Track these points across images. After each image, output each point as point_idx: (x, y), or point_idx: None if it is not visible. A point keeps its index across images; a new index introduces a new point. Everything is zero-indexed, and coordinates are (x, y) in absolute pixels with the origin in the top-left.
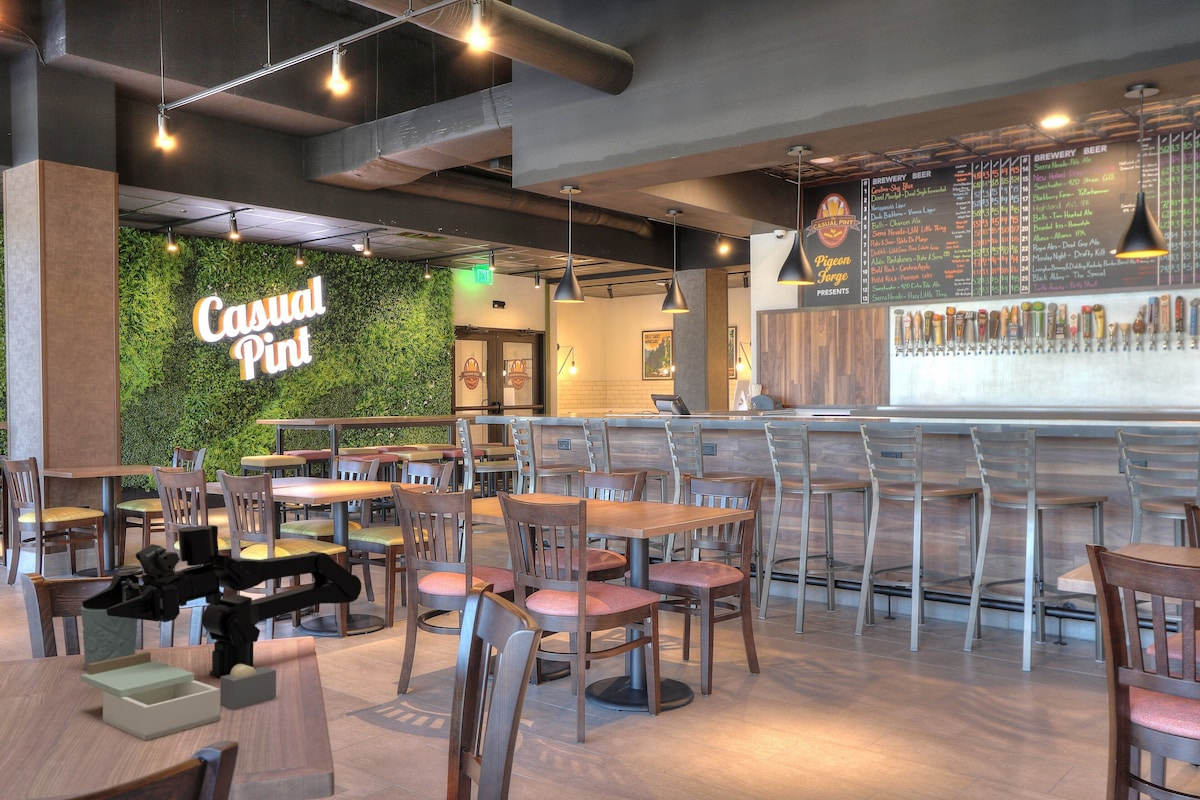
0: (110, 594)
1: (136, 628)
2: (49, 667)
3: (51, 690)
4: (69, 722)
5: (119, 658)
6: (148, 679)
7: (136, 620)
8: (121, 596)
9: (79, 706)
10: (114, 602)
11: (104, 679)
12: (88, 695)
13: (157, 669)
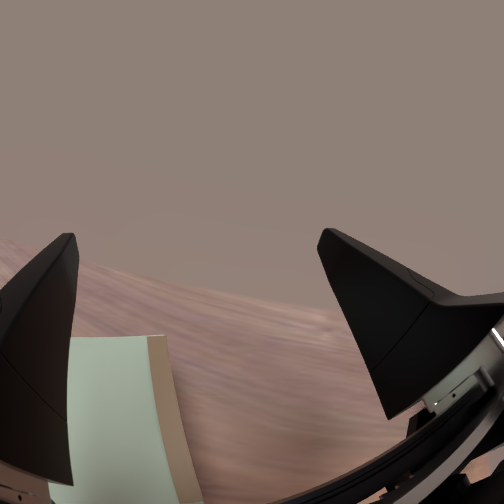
0: (407, 317)
1: (490, 450)
2: None
3: (341, 358)
4: None
5: (167, 414)
6: None
7: (500, 445)
8: (430, 381)
9: (208, 378)
10: (393, 362)
11: (82, 353)
12: (277, 405)
13: (77, 476)
